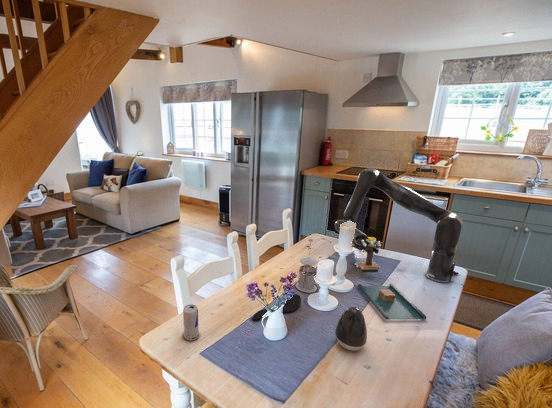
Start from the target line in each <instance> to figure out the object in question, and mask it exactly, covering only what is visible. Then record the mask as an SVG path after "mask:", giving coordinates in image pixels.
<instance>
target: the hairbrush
mask: <svg viewBox="0 0 552 408" xmlns="http://www.w3.org/2000/svg"><path fill="white" fill-rule="evenodd" d="M293 294H294V295H293V297H292V298H291V299H290V300H287V301H286V304H285V306H284V307H283V312H282V313H283V314H286V313H287V314H288V313H289V314H290V313H293V312H295V311H297V309H299V307H300V306H301V304H302V298H301V295H300V294H298V293H296V292H293ZM266 312H267V310H266V309H265V308H263V309H260V310H257V312H255V313H254V314H253V316H252V320H253V322H256V321H260V320H262V319H263V318H262V316H263V315H264V314H265V313H266Z"/></svg>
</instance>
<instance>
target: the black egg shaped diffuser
mask: <svg viewBox="0 0 552 408" xmlns="http://www.w3.org/2000/svg"><path fill="white" fill-rule="evenodd" d="M334 331H335V332H334V334H335V337H336V340H337V343H338V344H339V345H340V346H341V347H342V348H344V349H346V350H349V351H351V352H352V351H353V352H354V351H360V350H361V349H363V347H364V346H365V345H366V344H367V341H368V330H367V322H366V319H365V315H364V314H363V312H362V311H361V310H360V309H359V308H358V307H356V306H350V307H349V306H348V308H346V309H345V310H344V311H343V312H342V314H341V316H340V317H339V319H338V322H337V323H336V327H335V330H334Z"/></svg>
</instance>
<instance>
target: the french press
mask: <svg viewBox="0 0 552 408" xmlns="http://www.w3.org/2000/svg"><path fill="white" fill-rule="evenodd" d="M313 241H314V240H313V238H310V237H309V238H308V242H309V246H311V244H312V243H313ZM308 250H309V253H308V256H302V257H300V258H299V262H300V264H302V265H300V266H299V269H298V280H297V283H295V287H296V289H297V290H299V291H300V292H303V293H309V294H310V293H314V292H316V291H317V289H318V286H317V285H316V281H315V280H314V278H315V277H316V276H317V269H316V268H315V266H316V265H317V264H318V263H319V261H318V260H317V259H316V258H315V257H312V256H310V255H311V249H308ZM315 275H316V276H315ZM314 276H315V277H314Z"/></svg>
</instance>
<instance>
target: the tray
mask: <svg viewBox="0 0 552 408" xmlns="http://www.w3.org/2000/svg"><path fill="white" fill-rule="evenodd" d="M357 287H358V288H359V290H360V291H361V292H362V293H363V294H364V295H365V296H366V298H367V299H368V300H369V301H370V303H371V304H372V305H373V306H374V308H375V309H376V310H377V311H378V313H380V314H381V316H382V317H383V318H384V320H426V319H427V316H426V315H425V314H424V312H422V310H420V309H419V307H417V306H416V305H415V304H414V303H413V302H412V301H411V300H410V299H409V298H408V297H407V296H405V294H403V292H401V291H400V289H398V288H397V287H396V286H395V285H394V284H393V283H389V285H371V286H370V285H366V286H365V285H362V284H361V283H358V284H357ZM379 290H390V291H391V292H392V293H393V294H394V295H395V300H394V301H383V300H382V299H381V298H380V296H379Z"/></svg>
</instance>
